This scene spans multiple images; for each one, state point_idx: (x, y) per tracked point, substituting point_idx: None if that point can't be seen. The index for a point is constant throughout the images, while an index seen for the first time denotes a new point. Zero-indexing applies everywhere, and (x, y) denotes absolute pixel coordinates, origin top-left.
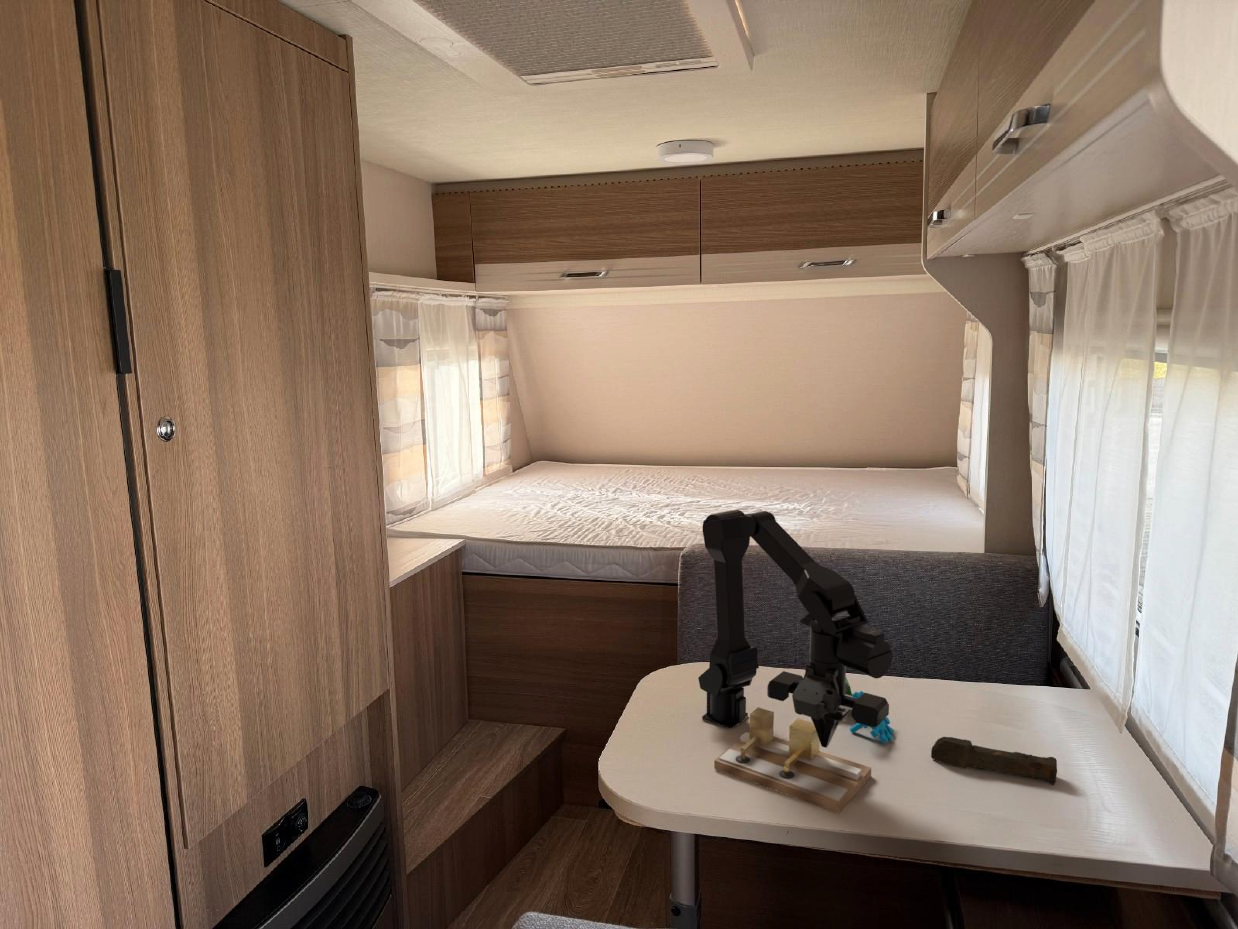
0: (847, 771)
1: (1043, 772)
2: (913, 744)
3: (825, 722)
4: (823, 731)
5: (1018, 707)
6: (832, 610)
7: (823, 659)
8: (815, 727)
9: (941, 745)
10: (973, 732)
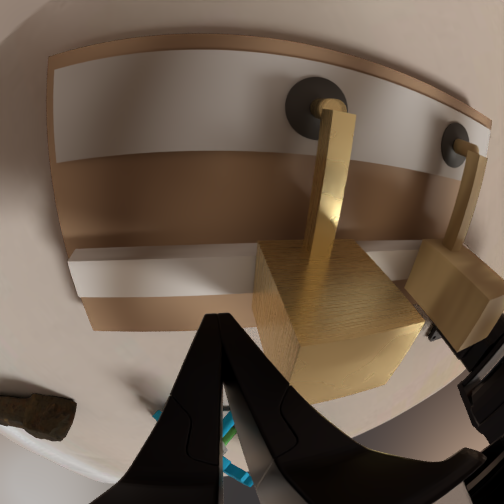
0: (102, 260)
1: None
2: (127, 420)
3: (214, 464)
4: (235, 388)
5: (109, 471)
6: None
7: None
8: (291, 390)
9: (53, 425)
10: (99, 447)
